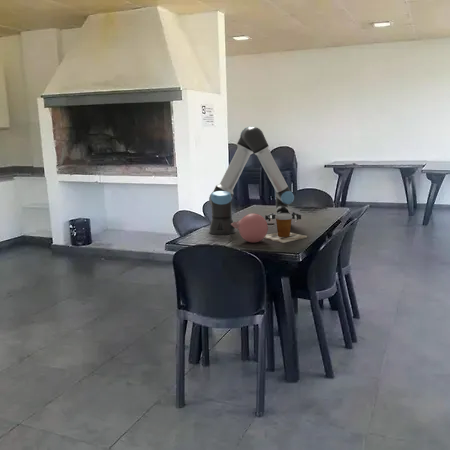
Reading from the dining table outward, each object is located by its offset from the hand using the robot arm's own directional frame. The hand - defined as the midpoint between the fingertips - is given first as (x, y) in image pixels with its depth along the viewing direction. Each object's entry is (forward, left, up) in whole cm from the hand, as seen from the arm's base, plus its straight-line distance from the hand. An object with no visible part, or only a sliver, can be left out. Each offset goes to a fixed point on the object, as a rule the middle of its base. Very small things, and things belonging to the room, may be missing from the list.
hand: (283, 219), depth 290 cm
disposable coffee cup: (+4, -3, -8) cm, 10 cm away
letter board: (+4, -3, -9) cm, 10 cm away
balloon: (-1, -23, -9) cm, 25 cm away
